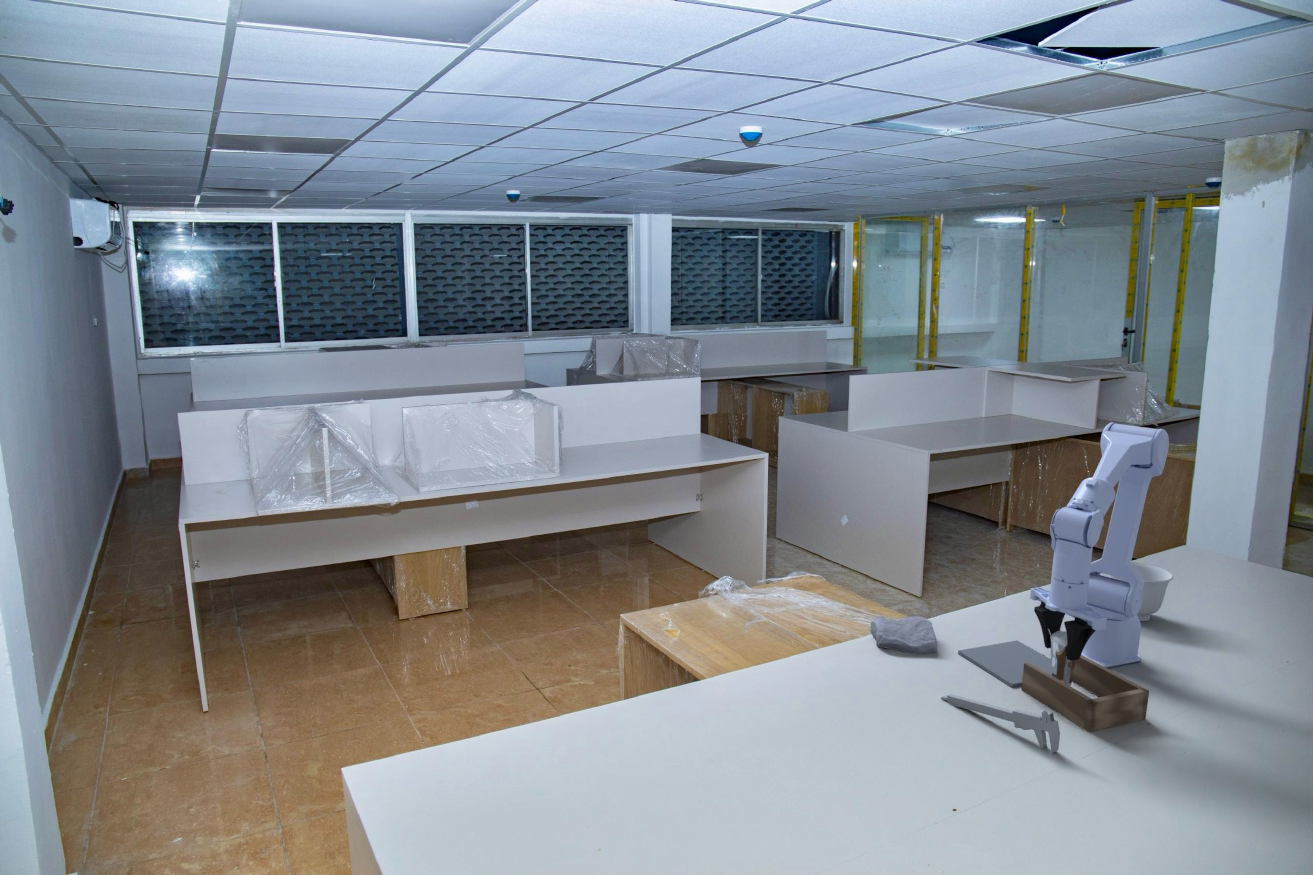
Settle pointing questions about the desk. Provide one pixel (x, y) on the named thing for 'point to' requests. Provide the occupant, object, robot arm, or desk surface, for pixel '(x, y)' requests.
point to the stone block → (904, 634)
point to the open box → (1110, 709)
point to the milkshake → (1061, 658)
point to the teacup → (1151, 588)
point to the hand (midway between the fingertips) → (1061, 652)
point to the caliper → (1015, 719)
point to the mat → (1006, 660)
